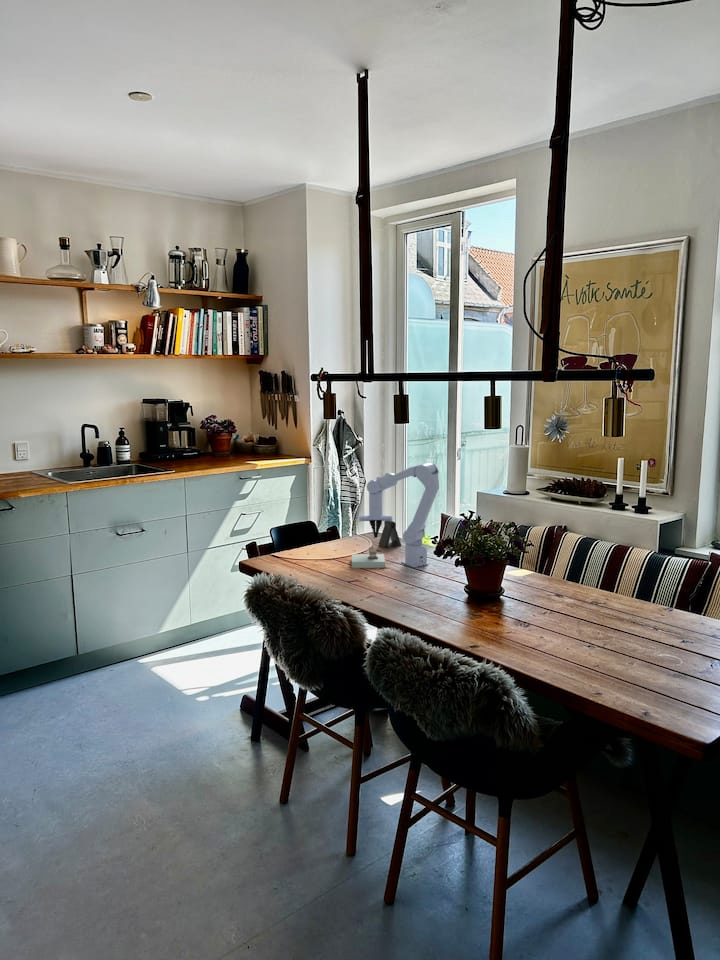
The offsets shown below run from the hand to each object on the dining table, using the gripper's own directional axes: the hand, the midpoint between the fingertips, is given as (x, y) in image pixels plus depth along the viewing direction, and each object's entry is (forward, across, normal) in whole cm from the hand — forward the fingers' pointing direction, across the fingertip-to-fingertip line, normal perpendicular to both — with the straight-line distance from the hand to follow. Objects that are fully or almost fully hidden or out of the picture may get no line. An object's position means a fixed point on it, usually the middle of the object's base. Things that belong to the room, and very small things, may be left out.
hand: (375, 537), depth 308 cm
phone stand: (+10, -7, -21) cm, 24 cm away
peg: (+9, +2, +9) cm, 13 cm away
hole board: (+9, +3, +9) cm, 14 cm away
